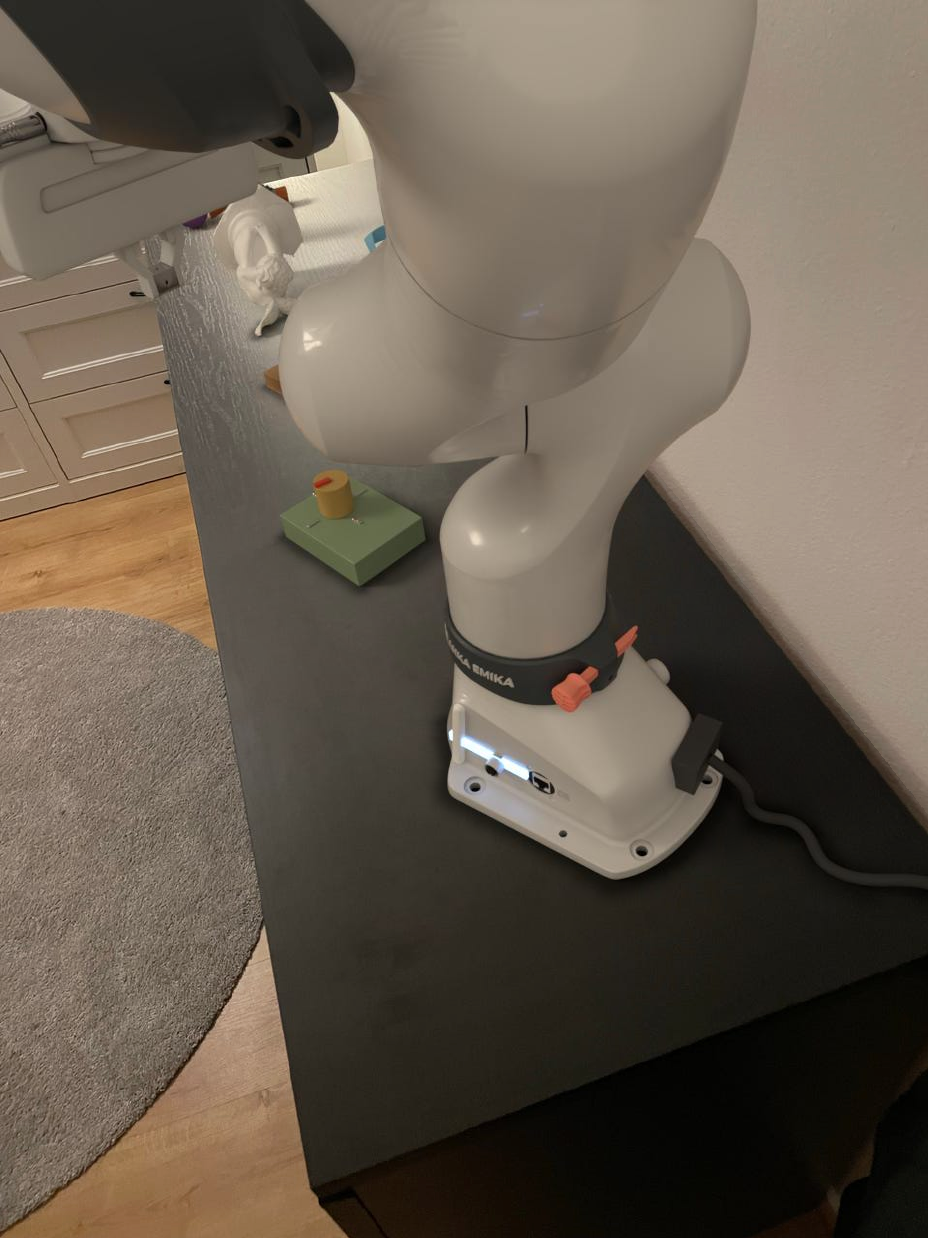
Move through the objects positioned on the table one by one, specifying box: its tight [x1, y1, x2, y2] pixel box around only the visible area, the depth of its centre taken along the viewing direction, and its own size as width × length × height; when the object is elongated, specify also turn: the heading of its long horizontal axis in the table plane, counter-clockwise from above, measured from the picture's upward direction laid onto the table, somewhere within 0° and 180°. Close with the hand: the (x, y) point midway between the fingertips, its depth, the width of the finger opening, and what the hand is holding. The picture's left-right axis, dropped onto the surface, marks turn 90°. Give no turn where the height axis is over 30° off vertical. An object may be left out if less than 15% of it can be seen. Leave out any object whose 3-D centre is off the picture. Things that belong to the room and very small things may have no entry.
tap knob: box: [312, 469, 355, 519], centre depth 89 cm, size 4×4×4 cm
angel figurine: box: [211, 183, 304, 337], centre depth 128 cm, size 14×20×12 cm
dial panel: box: [279, 473, 427, 587], centre depth 91 cm, size 12×9×3 cm
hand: (164, 290), depth 70 cm, fingers closed
